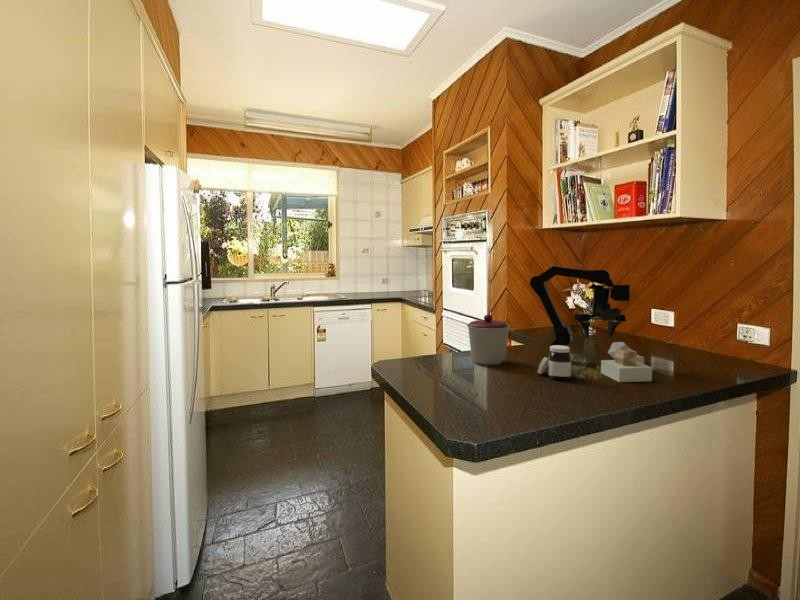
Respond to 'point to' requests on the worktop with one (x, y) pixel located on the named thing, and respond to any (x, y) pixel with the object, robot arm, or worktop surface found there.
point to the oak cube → (626, 357)
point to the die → (617, 346)
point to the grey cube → (640, 359)
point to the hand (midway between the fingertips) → (598, 337)
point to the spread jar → (557, 363)
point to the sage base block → (626, 371)
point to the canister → (488, 340)
